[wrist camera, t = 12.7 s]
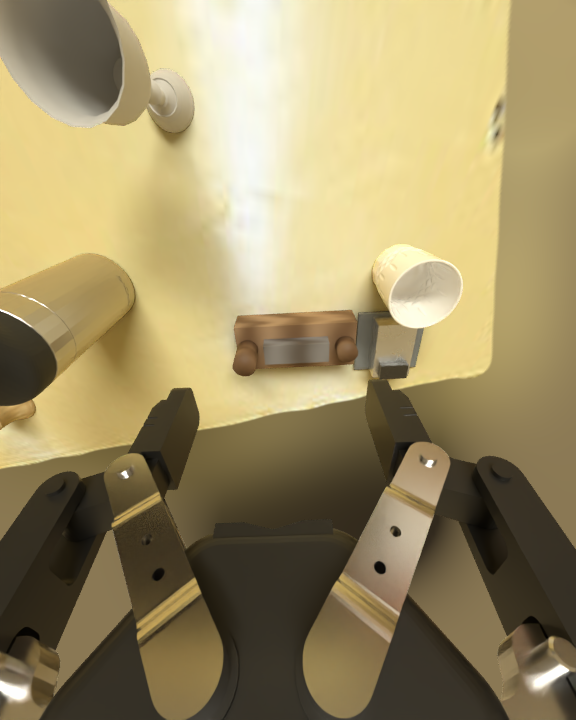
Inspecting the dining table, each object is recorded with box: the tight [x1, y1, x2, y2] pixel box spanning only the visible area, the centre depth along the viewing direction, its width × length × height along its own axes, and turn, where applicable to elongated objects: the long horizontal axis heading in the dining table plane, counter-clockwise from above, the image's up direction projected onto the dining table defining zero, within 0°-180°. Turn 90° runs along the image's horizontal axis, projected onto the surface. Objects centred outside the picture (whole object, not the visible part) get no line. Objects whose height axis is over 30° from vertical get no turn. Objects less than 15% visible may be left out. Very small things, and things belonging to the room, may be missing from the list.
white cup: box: [372, 244, 463, 329], centre depth 36 cm, size 8×8×10 cm
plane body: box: [233, 310, 358, 376], centre depth 42 cm, size 17×7×8 cm, turn 93°
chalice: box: [0, 0, 194, 133], centre depth 23 cm, size 7×7×18 cm
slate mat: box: [354, 311, 424, 370], centre depth 46 cm, size 10×10×1 cm
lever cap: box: [368, 316, 417, 379], centre depth 44 cm, size 9×6×4 cm, turn 3°
